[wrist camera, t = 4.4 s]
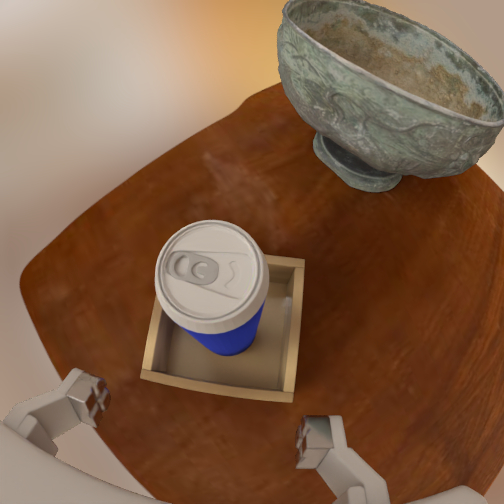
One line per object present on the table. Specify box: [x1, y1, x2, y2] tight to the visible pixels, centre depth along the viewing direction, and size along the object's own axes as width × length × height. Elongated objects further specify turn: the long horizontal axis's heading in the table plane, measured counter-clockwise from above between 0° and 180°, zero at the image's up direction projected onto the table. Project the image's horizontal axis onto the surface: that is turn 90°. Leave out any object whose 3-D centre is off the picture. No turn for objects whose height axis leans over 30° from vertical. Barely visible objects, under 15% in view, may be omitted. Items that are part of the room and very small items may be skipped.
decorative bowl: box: [277, 0, 504, 192], centre depth 27 cm, size 26×26×20 cm
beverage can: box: [155, 220, 269, 356], centre depth 18 cm, size 5×5×15 cm
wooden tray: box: [140, 254, 305, 402], centre depth 23 cm, size 12×12×5 cm
